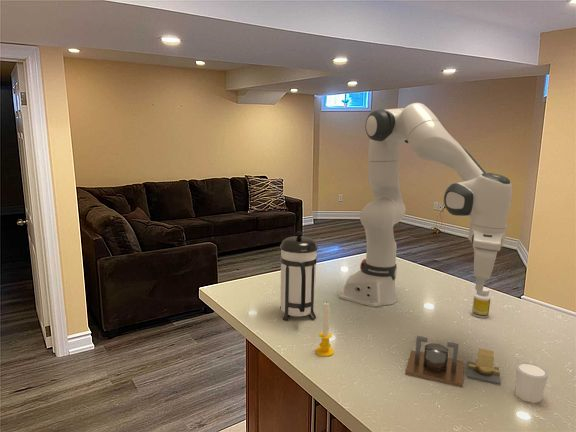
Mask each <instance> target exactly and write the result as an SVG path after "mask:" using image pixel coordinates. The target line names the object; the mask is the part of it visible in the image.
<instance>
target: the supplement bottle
mask: <svg viewBox="0 0 576 432" xmlns="http://www.w3.org/2000/svg"><path fill="white" fill-rule="evenodd" d="M489 294H490V289H489V288H488V287H484V286H483V290H482V291H478V290H476V292H475V293H474V295H473V298H472V299H473V300H472V309H471V314H472V315H473V316H474V317H476V318H481V319H486V318H489V314H490V305H491V295H489Z"/></svg>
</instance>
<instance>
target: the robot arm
mask: <svg viewBox="0 0 576 432" xmlns="http://www.w3.org/2000/svg"><path fill="white" fill-rule="evenodd" d="M364 126H365V133H366V135H367V137H368V138H369V144H368V152H367V153H368V154H367V172H368V173H367V177H368V178H367V179H368V180H367V181H368V184H369V186H370V189H371V191H372V195H373V200H372V201H369V202H368V203H367V204H366V205H365V206H364V207H363V208H362V209H361V211H360V213H359V215H360V216H359V220H360V223H361V225H362V226H363V227H364V232H365V239H366V256H365V257H366V258H363V259H362V260H361V263H360V265H359V266H360V268H359V269H360V270H358V271H356V272H355V273H353V274H352V275H350V276H349V277H348V278H347V279H346V282H345V285H344V286H343V287H341V288H340V290H339V291H338V293H337V294H338V297H339V299H341V300H345V301H350V302H353V303H357V304H361V305H366V306H369V307H373V308H377V307H380V306H381V307H382V306H389V305H393V304H395V303H396V302H398V296H397V295H398V294H397V290H396V289H397V288H396V278H397V273H398V272H397V271H398V270H397V263H396V262H397V249H398V248H397V242H396V240H395V236H394V235H395V233H394V225H396V224H398V223H399V222H401V221H402V220H403V218H404V216H405V214H406V211H407V210H406V205H405V203H404V202H403V201H404V200H403V197H402V190H401V186H400V155H399V154H400V152H399V150H400V146H401V144H402V143H403V142H404V143H406V144H409V146H410V148H411V150H412V152H414V153H415V154H416V155H417V156H418V157H419V158H420V159H422V160H424V161H428V162H432V163H437V164H440V165H444V166H446V167H449V168H451V169H452V170H453V171H454V172H456V173H457V174H458V175H459V177H460V178H461V179H462V181H460V182H454V183H452V184H450V185H449V186H448V187H447V188H446V190H445V192H444V196H443V203H444V208H445V209H446V211H447V212H448V213H449V215H452V216H456V217H469V219H470V223H469V231H468V234H467V236H468V237H467V240H468V241H470V243H471V245H472V247H473V253H474V254H473V255H474V256H473V276H474V278H475V290H476V291H477V290H478V291H482V290H483V287H484V286H485V281H486V280H489V279H490V278H491V276H492V273H493V270H494V266H495V262H496V259H497V254H498V252H500V251H501V248H502V246H503V245H504V244H505V240H506V235H507V228H508V222H507V219H508V215H509V213H510V210H511V206H512V199H513V198H512V197H513V187H512V186H513V185H512V181H511V180H510V179H509V178H508V177H506V176H504V175H501V174H497V173H492V172H486V171H485V170H484V169H483V168H482V166H480V164H479V163H478V162H477V160H476V159H475V158H474V157H473V156H472V155H471V153H470V152H469V151H468V150H467V149H466V148H465V147H464V146H463V145H461V144H460V143H459V142H458V141H457V140H456V139H455V138H454V137H453V136H452V135H451V134H450V133H449V132H448V131H447V130H446V129H445V127H444V126H443V125H442V123H441V122H440V120H439V119H438V117H437V116H436V114H434V112H432V110H430V108H429V107H427V106H426V104H423V103H422V102H413V103H410V104H408V105H407V106H405V107H404V108H403V107H397V108H386V109H382V108H381V109H376V110H374V111H371V112H369V114H368V116H367V118H366V121H365V125H364Z"/></svg>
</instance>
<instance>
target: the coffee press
mask: <svg viewBox="0 0 576 432" xmlns="http://www.w3.org/2000/svg"><path fill="white" fill-rule="evenodd" d="M295 235H296V236H289V237H286V238H285V239H282V241H281V243H280V245H279V249H280V254H281V255H280V258H279V259H280V306H279V309H280V311H282V313H284V314H283V316H282V321H285V322H288V321H289V320H290V318H291V317H305V316H307V317H309V319H310V320H311V321H314V320H316V319H317V316H316V314H315V309H316V284H317V283H316V282H317V281H316V280H317V263H318V257H317V252H318V249H319V245H317V243H316V241H315V240H314V239H312V238H311V237H308V236H303V232H302V231H301V230H297V231H296V233H295Z"/></svg>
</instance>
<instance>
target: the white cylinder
mask: <svg viewBox="0 0 576 432" xmlns="http://www.w3.org/2000/svg"><path fill="white" fill-rule="evenodd" d="M548 377H549V373H548V371H547V370H546V369H545V368H543V367H542V366H539V365H537V364H535V363H530V362H519V363H517V364H516V365H515V395H516V396H517V397H518V398H520V399H521V400H523V401H524V402H528V403H534V404H536V403H540V402H542V400H543V396H544V395H543V394H544V392H545V388H546V384H547V381H548Z"/></svg>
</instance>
